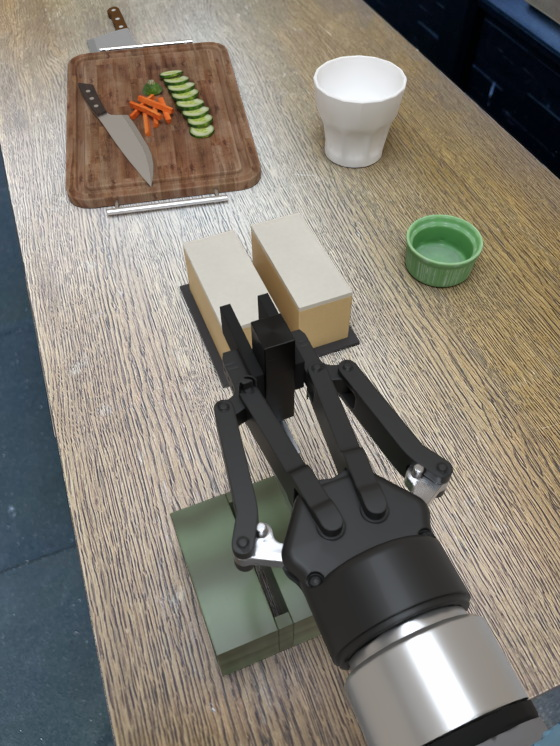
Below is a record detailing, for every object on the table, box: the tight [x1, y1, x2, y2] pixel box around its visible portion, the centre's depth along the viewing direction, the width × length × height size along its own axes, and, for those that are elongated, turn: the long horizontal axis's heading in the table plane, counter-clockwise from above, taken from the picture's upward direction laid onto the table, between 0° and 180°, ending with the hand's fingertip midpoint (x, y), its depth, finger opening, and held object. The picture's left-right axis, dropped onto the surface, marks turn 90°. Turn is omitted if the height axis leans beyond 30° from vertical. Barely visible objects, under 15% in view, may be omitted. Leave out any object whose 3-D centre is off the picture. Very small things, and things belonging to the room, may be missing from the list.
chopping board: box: [64, 38, 262, 216], centre depth 99 cm, size 45×27×3 cm, turn 11°
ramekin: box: [404, 213, 484, 288], centre depth 78 cm, size 9×9×4 cm
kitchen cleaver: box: [86, 5, 138, 53], centre depth 116 cm, size 24×1×10 cm
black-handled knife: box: [251, 313, 301, 513], centre depth 45 cm, size 8×2×17 cm, turn 22°
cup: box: [312, 54, 408, 169], centre depth 90 cm, size 12×12×11 cm
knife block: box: [169, 475, 321, 677], centre depth 53 cm, size 12×11×6 cm
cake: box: [179, 211, 361, 389], centre depth 72 cm, size 16×16×8 cm
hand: (245, 313), depth 45 cm, fingers closed on black-handled knife, 2 cm apart
